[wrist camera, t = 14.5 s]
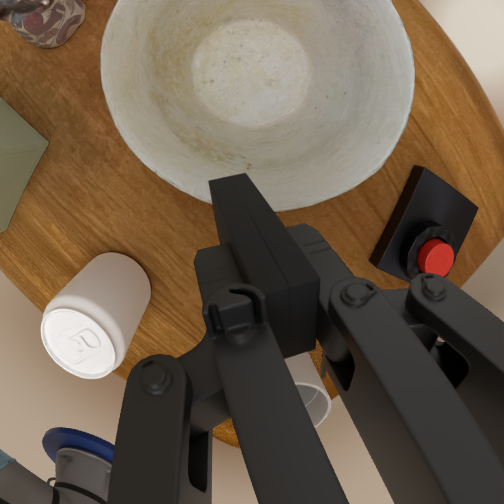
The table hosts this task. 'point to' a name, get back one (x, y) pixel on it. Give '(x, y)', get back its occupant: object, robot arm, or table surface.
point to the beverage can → (96, 316)
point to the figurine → (43, 19)
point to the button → (435, 257)
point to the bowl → (259, 92)
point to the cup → (309, 387)
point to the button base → (422, 223)
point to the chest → (16, 159)
